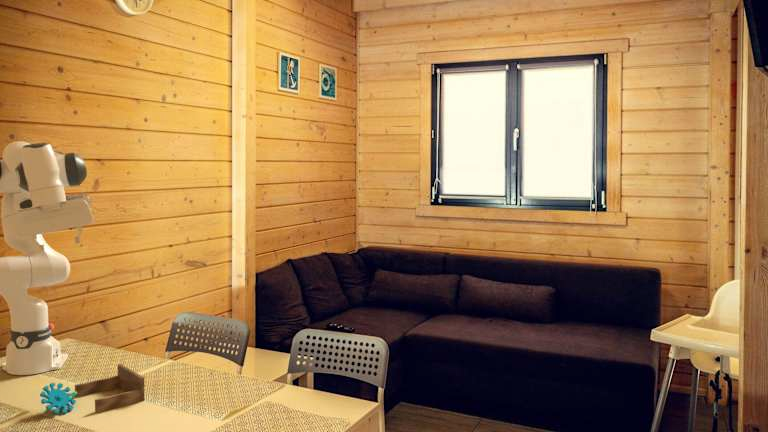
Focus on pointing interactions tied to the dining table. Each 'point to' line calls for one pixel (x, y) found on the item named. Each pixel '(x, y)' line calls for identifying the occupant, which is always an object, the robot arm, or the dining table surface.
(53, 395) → the teal round spiked piece
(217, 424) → the dining table surface
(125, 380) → the bay
